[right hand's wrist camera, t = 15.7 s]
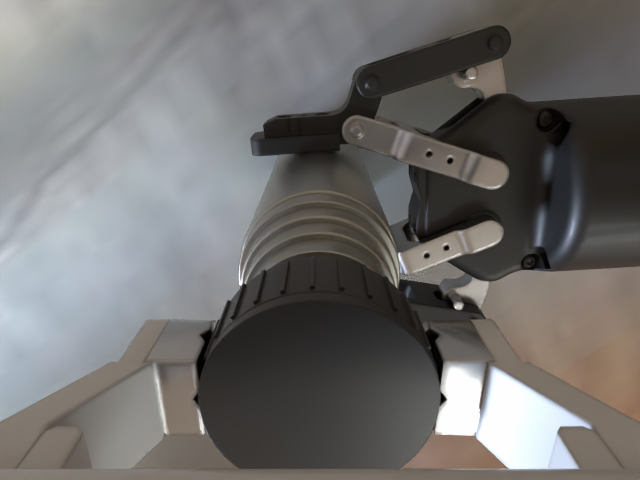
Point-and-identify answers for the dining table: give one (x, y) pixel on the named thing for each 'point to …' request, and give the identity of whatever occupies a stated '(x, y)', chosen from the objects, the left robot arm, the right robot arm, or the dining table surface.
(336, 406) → the cap
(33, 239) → the dining table surface
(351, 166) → the bottle
